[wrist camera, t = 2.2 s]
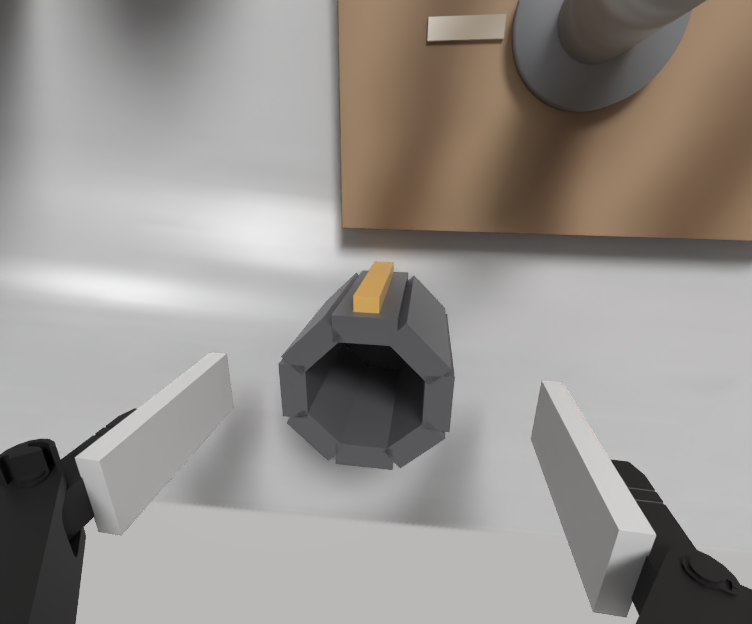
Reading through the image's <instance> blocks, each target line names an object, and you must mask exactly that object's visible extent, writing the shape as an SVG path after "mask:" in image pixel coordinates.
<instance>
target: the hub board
mask: <svg viewBox="0 0 752 624" xmlns="http://www.w3.org/2000/svg"><path fill="white" fill-rule="evenodd" d="M338 18H339V73H340V128H341V182H342V228H368V229H400V230H432V231H463V232H495V233H527V234H559V235H590V236H622V237H654V238H686V239H717V240H749V241H752V0H338Z"/></svg>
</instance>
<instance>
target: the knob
mask: <svg viewBox="0 0 752 624" xmlns="http://www.w3.org/2000/svg"><path fill="white" fill-rule="evenodd" d="M393 270H394V262H374V264H373V265H372V267H371V269H370V270H369V271H362V272H361V274H360V275H358V274H357V273H356V274H355V275H354V276H353V277H352V278H350V279H349V280H348V281H347V282H346V283H345V284H344V285H343V286H342V287H341V288H340V289H339V290H338V291H337V292H336V293H335V294H334V295H333V296H331V297H330V298H329V299H328V300H327V301H326V302H325V304H324V305H323V306H322V307H321V309H320V310H319V311H318V312H317V313H316V315H315V316H314V317H313V318H312V320H311V321H310V322H309V323H308V324H307V326H306V327H305V328H304V329H303V331H302V332H301V333H300V334H299V336H298V337H297V338H296V339H295V340H294V342H293V343H292V344H291V345H290V347H289V348H288V349H287V350H286V351H285V353H284V354H283V355H282V356H281V357H282V358H283V359H282V360H281V362H280V363H279V375H280V386H281V398H282V409H283V416H288V417H290V418H289V420H288V422H287V424H288V425H290V426H291V427H292V428H293V429H294V430H295V431H296V432H297V433H298V434H300V435H301V436H302V437H303V438H304V439H305V440H306V441H307V442H308V443H310V444H311V445H312V446H313V447H314V448H315V449H316V450H317V451H318V452H320V453H321V454H322V455H323V456H324V457H325V458H326V459H327V460H329V459H331V458H332V457H333V456H335V455H336V464H343V465H352V466H362V467H371V468H380V469H389V470H392V469H393V462H394V463H395V464H396V465H398V466H399V467H400V468H401V467H403V466H404V465H406V464H407V463H409V462H410V461H412V460H413V459H415V458H416V457H418V456H419V455H421V454H422V453H424V452H425V451H427V450H429V449H430V448H432V447H433V446H435V445H436V444H438V443H439V442H441V441H442V440H444V439H445V432H449V430H450V419H451V409H452V399H453V389H454V378H455V377H454V369H453V361H452V352H451V344H450V336H449V328H448V319H447V314H445V308H444V307H443V306H442V305H441V304H440V303H439V301H438V300H437V299H436V298H435V297H434V296H433V295H432V294H431V293H430V292H429V291H428V290H427V289H426V288H425V287H424V285H423V284H422V283H421V282H420V281H419V280H418V279H417V278H416V277H415V276H413V277H412V278H411V279H410V280H409V281H408V273H403V272H393ZM343 343H355V344H370V345H384V346H391V347H392V348H393V349H394V350H395V351H396V352H397V354H398V355H399V356H400V357H401V358H402V359H403V360H404V361H405V362H406V364H405V365H404V366H402V367H401V368H400V369H396V368H383V367H370V366H366V365H365V364H364V363H363V362H362V361H361V360H360V359H359V358H358V357H357V356H356V355H355V354H354V353H353V352H352V351H351V350H350V349H349V348H348V347H346V346H345V345H344V344H343Z"/></svg>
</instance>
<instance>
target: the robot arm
mask: <svg viewBox="0 0 752 624" xmlns="http://www.w3.org/2000/svg"><path fill="white" fill-rule="evenodd" d="M233 408H234V405H233V398H232V390H231V383H230V375H229V368H228V361H227V354H224V353H212V352H210V353H209V354H208V355H206V356H205V357H204V358H202V359H201V360H200V361H199V362H197V363H196V364H195V365H193V366H192V367H191V368H189V369H188V370H187V371H186V372H184V373H183V374H182V375H180V376H179V377H178V378H177V379H175V380H174V381H173V382H171V383H170V384H169V385H168V386H166V387H165V388H164V389H162V390H161V391H160V392H159V393H157V394H156V395H155V396H153V397H152V398H151V399H150V400H148V401H147V402H146V403H144V404H143V405H142V406H140V407H139V408H138V409H133V410H131V411H129V412H126V413H124V414H122V415H120V416H118V417H117V418H116V419H114V420H113V421H112V422H110V423H109V424H108V425H106V428H102V429H101V430H100V431H98V432H97V433H96V435H95V436H92V437H90V438H89V439H88V440H86V441H85V442H84V443H82V444H81V445H80V446H78V447H77V448H76V449H75V450H73V451H72V452H71V453H69V454H68V455H67V456H65V457H64V458H63V459H61V460H60V457H59V454H58V451H57V448H56V445H55V442H54V441H52V440H50V439H37V440H31V441H27V442H24V443H21V444H18V445H16V446H14V447H12V448H10V449H8V450H6V451H5V452H3V453H2V454H0V624H75V623H76V614H77V605H78V598H79V589H80V581H81V573H82V564H83V556H84V548H85V540H86V535H85V530H84V526H85V525H86V524H87V523H88V522H89V521H90V520H91V519H92V518H93V517H94V519H95V522H96V525H97V528H98V531H99V532H103V533H109V534H115V535H122V534H123V533H124V532H125V531H126V530H127V529H128V528H129V526H130V525H131V524H132V523H133V522H134V521H135V519H136V518H137V517H138V516H139V515H140V514H141V513H142V512H143V510H144V509H145V508H146V507H147V506H148V505H149V504H150V502H151V501H152V500H153V499H154V498H155V497H156V496H157V495H158V493H159V492H160V491H161V490H162V489H163V488H164V487H165V485H166V484H167V483H168V482H169V481H170V480H171V479H172V477H173V476H174V475H175V474H176V473H177V472H178V471H179V469H180V468H181V467H182V466H183V465H184V464H185V463H186V462H187V460H188V459H189V458H190V457H191V456H192V455H193V454H194V452H195V451H196V450H197V449H198V448H199V447H200V446H201V444H202V443H203V442H204V441H205V440H206V439H207V438H208V436H209V435H210V434H211V433H212V432H213V431H214V430H215V428H216V427H217V426H218V425H219V424H220V423H221V422H222V421H223V419H224V418H225V417H226V416H227V415H228V414H229V413H230V411H231V410H232V409H233ZM531 441H532V443H533V446H534V449H535V452H536V455H537V457H538V460H539V463H540V466H541V468H542V471H543V474H544V477H545V480H546V482H547V485H548V488H549V491H550V493H551V496H552V499H553V502H554V505H555V507H556V510H557V513H558V516H559V518H560V521H561V524H562V527H563V530H564V532H565V535H566V538H567V541H568V543H569V546H570V549H571V552H572V555H573V557H574V560H575V563H576V566H577V568H578V571H579V574H580V577H581V579H582V582H583V585H584V588H585V591H586V593H587V596H588V599H589V602H590V604H591V607H592V610H593V612H596V613H602V614H609V615H615V616H621V617H627V614H628V612H629V609H630V606H631V603H632V601H633V603H634V605H635V607H636V610H637V611H638V614H639V618H638V620H637V622H636V624H752V590H751V589H749V588H747V587H744V586H742V585H740V584H739V582H738V580H737V579H736V577H735V576H734V575H733V574H732V573H731V572H729V570H727V568H726V567H725V566H724V565H722V564H721V563H719V562H718V561H716V560H715V559H713V558H712V557H711V556H709V555H707V554H704V553H702V552H700V551H698V550H696V548H695V547H694V545H693V544H692V542H691V541H690V540H689V538H688V537H687V535H686V534H685V532H684V531H683V529H682V528H681V527H680V525H679V524H678V522H677V521H676V519H675V518H674V517H673V515H672V514H671V512H670V511H669V509H668V508H667V507H666V505H664V504H663V501H662V499H661V498H660V497H659V495H658V494H657V492H655V491H654V490H655V489H654V488H653V486H652V485H651V484H650V482H649V481H648V479H647V478H646V476H645V475H644V474H643V473H642V472H640V471H639V470H638V469H637V468H635V467H634V466H633V465H632V464H631V463H629V462H627V461H618V460H610V459H609V457H608V455H607V454H606V452H605V450H604V449H603V447H602V445H601V444H600V442H599V441H598V439H597V437H596V436H595V434H594V432H593V431H592V429H591V428H590V426H589V424H588V423H587V421H586V419H585V418H584V416H583V415H582V413H581V411H580V410H579V408H578V406H577V405H576V403H575V402H574V400H573V398H572V397H571V395H570V393H569V392H568V390H567V389H566V387H565V385H564V384H563V382H555V381H543V380H542V382H541V387H540V393H539V398H538V403H537V409H536V414H535V419H534V425H533V430H532V435H531Z"/></svg>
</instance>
